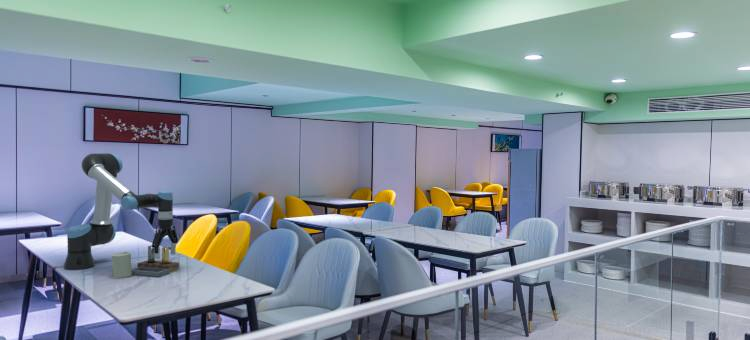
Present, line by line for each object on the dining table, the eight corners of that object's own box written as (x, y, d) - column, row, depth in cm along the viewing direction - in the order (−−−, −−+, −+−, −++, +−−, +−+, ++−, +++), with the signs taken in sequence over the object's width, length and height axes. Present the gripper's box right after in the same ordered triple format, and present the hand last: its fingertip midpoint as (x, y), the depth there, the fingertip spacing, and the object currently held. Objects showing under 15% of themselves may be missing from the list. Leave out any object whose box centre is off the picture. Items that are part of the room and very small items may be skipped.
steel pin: (146, 269, 293) (146, 246, 293) (150, 268, 297) (150, 245, 296) (152, 270, 292) (152, 247, 292) (156, 268, 296) (156, 246, 295)
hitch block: (137, 270, 292) (137, 263, 291) (148, 267, 300) (148, 260, 300) (168, 273, 287) (168, 265, 287) (178, 269, 295) (178, 262, 295)
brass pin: (160, 271, 291) (160, 247, 291) (164, 269, 295) (164, 246, 294) (166, 271, 290) (166, 248, 290) (170, 270, 294) (170, 247, 293)
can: (135, 273, 282) (134, 251, 282) (124, 278, 273) (123, 255, 272) (120, 273, 284) (119, 251, 283) (108, 277, 275) (107, 255, 274)
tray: (129, 274, 281) (129, 270, 281) (140, 271, 290) (140, 266, 290) (158, 277, 277) (158, 272, 277) (169, 273, 285) (169, 269, 285)
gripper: (156, 221, 278) (156, 261, 279) (184, 216, 303) (184, 253, 303) (144, 221, 280) (144, 260, 281) (173, 215, 304) (173, 252, 305)
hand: (165, 256), depth 292 cm, fingers open, 13 cm apart
